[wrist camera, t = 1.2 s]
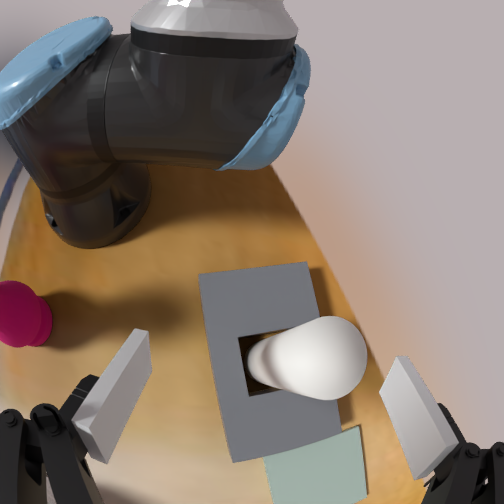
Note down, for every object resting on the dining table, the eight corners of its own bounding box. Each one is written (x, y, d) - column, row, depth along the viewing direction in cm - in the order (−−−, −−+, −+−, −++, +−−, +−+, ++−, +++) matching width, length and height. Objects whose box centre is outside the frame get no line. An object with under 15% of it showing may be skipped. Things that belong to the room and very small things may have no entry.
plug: (240, 343, 30) (282, 324, 15) (283, 336, 31) (357, 308, 16) (248, 387, 28) (299, 410, 13) (291, 378, 29) (373, 385, 15)
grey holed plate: (198, 282, 31) (198, 274, 29) (298, 270, 34) (306, 261, 32) (229, 454, 25) (232, 462, 22) (330, 427, 27) (342, 432, 25)
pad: (262, 455, 25) (263, 456, 24) (356, 425, 28) (358, 426, 27) (279, 527, 21) (280, 529, 20) (364, 495, 24) (366, 497, 23)
